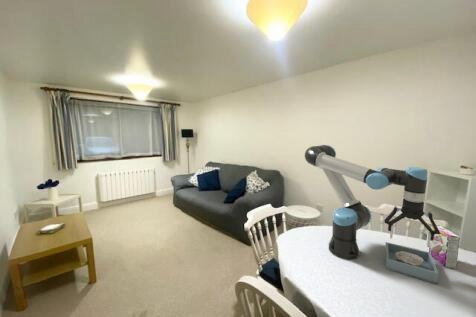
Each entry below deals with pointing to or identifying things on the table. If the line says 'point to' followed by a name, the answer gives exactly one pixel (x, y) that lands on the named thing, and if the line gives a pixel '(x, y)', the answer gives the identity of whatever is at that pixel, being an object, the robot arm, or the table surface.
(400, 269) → the bin
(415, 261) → the fossil
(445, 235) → the candy bar box
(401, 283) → the table surface
